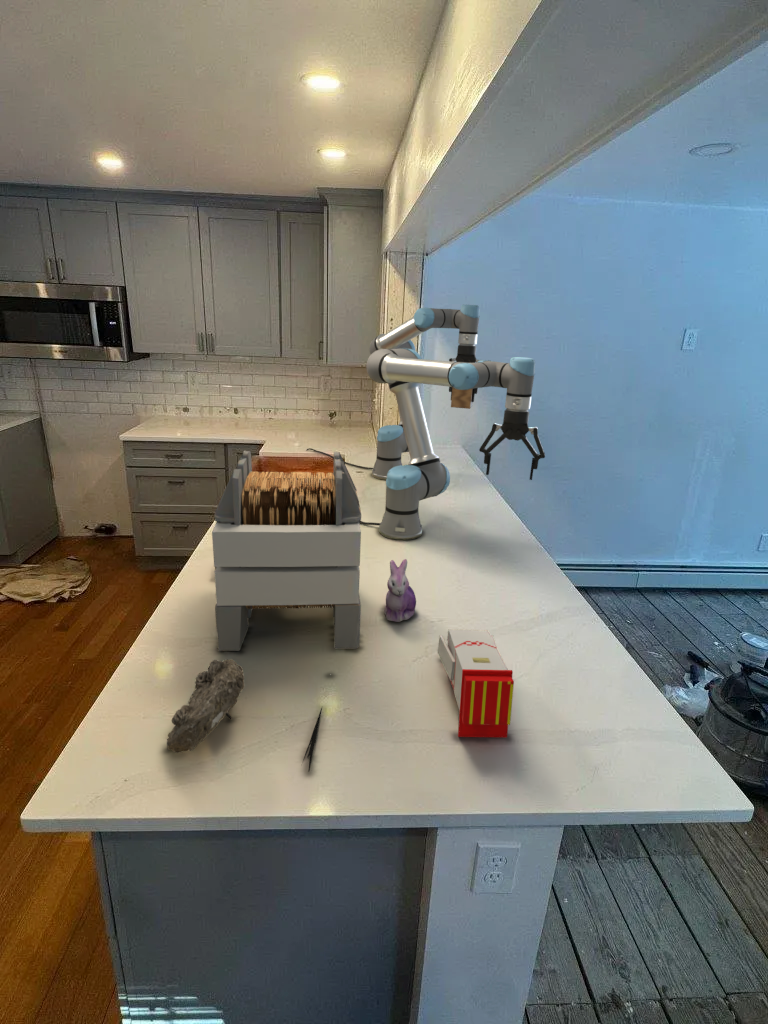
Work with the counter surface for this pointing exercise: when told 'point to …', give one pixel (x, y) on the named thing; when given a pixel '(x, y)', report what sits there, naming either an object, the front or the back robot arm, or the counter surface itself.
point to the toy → (478, 682)
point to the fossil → (206, 705)
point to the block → (461, 398)
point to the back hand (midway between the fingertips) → (462, 400)
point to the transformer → (287, 549)
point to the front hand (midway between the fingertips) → (509, 476)
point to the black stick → (313, 740)
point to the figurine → (399, 594)
